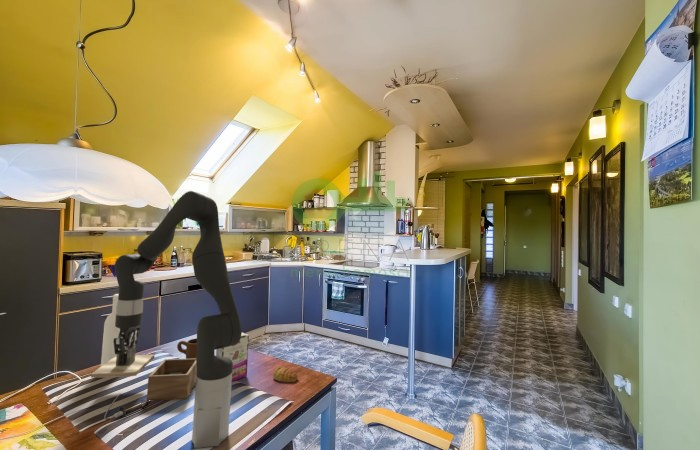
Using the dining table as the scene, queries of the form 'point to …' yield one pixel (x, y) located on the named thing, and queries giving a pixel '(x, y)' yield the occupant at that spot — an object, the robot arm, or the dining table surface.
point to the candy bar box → (237, 356)
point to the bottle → (110, 334)
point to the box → (172, 379)
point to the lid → (129, 369)
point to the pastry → (285, 375)
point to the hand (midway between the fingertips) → (125, 361)
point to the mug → (188, 348)
